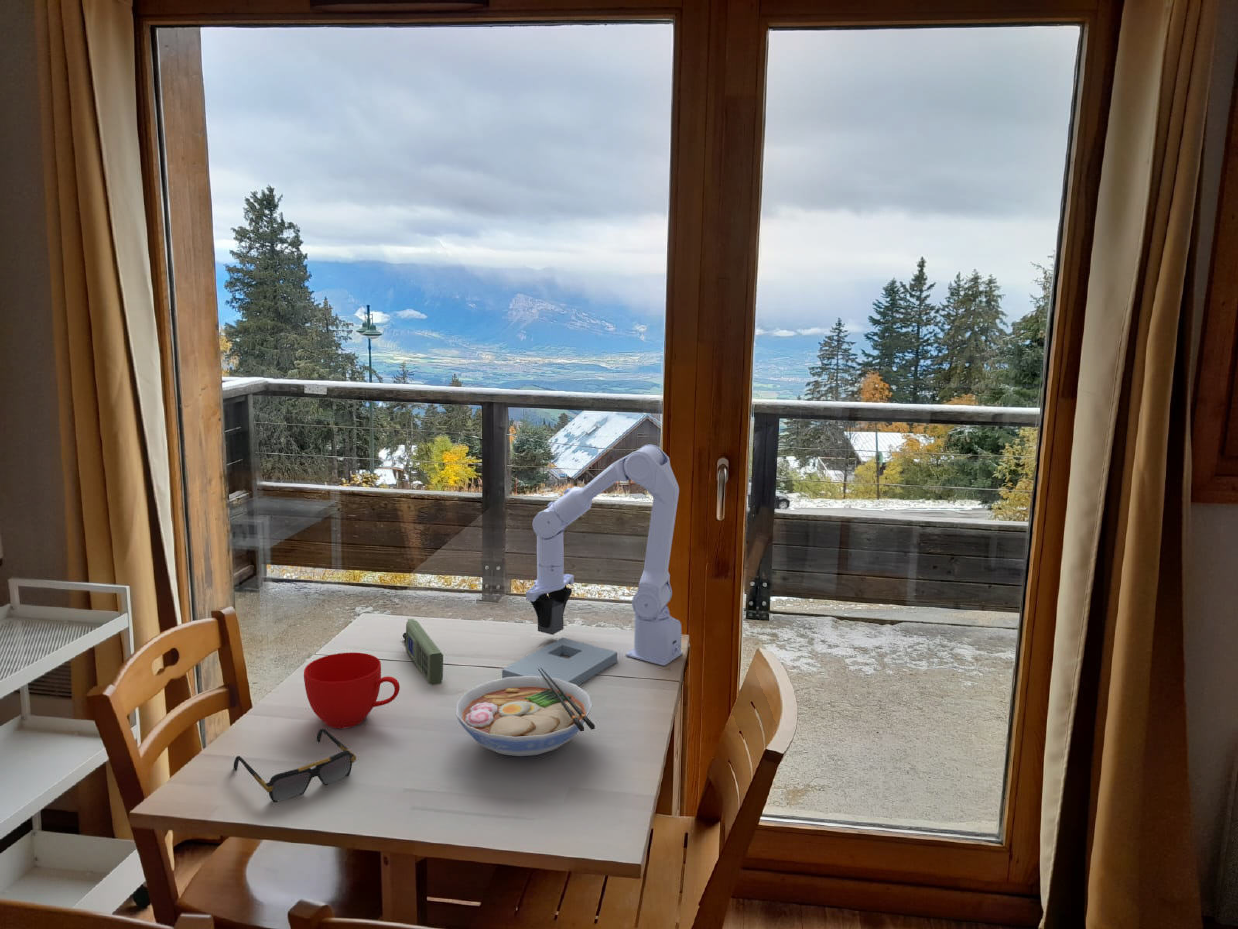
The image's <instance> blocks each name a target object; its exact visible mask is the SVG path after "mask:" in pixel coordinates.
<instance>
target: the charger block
mask: <svg viewBox="0 0 1238 929" xmlns="http://www.w3.org/2000/svg"><path fill="white" fill-rule="evenodd" d="M563 630H564V613H563V603H561V602H557V601H554V602H553V605H552V609H551V615H550V625H549V627H548V628H544V627H540V625H539V621H538V620H537V632H541V633H543V634H548V635H553V636H554V635H555V634H557V633H560V632H561V631H563Z"/></svg>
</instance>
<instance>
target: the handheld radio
mask: <svg viewBox="0 0 1238 929" xmlns="http://www.w3.org/2000/svg"><path fill="white" fill-rule="evenodd" d="M402 638H403V640H404V641H405V650H406V652H407V653H408V655H409V656H410V658H411V659H412V661H413V662H414V664H415V665H416V667H417V668H418V669H419V671H420V673H421V674H422V676H423V677H424V678H425V680H426V682H427V684H429V686H430V685H431V686H433V685H434V686H435V685H438V684H439V685H440V684H442V681H443V679H444V655H443V654H444V653H442V651H441V650H440V648H438V646H437V645H436V644H435V642H434V641H433V639H432V638H431V637H430V635H429V634H428V633H427V632H426V630H425V629H424V628H423V627H422V625H421V624H420V623H419V621H418V620H415V619H414V618H407V621H406V625H405V632H404V633H402Z"/></svg>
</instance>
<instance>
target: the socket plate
mask: <svg viewBox="0 0 1238 929" xmlns="http://www.w3.org/2000/svg"><path fill="white" fill-rule="evenodd" d="M561 655H564V656H568V658H565V657H563V656H561ZM617 662H618V651H614V650H610V649H608V648H607V649H606V648H603V647H599V646H596V645H593V644H588V643H584V642H580V641H576V640H573V639H569V638H565V637H561V638H559V639H558V640H555V641H553V642H552V643H550V644H548V645H545V646H543V647H542V648H540V649H538V650H537V651H535V652H532V653H531V654H528V655H527V656H525V657H522V658H521V659H519V660H517V661H515V662H514V663H512V664H510V665H508V666H506V667H504V668H502V670H501V677H502V678H506V677H519V676H540V677H543V676H542V675H541V673H540V672H539V670H540V671H541V672H542V674H543V675H544V676H545V677H547V676H546V674H545V673H544V672H543V671H542V670H541V668H542V669H543V670H544V671H545V672H546V673H547V675H548V676H549V677H550V678H557V679H560V680H563V681H566V682H569V683H572V684H575V685H577V686H578V687H579V685H582V683H584V682H585V681H588V680H589V679H591V678H593V677H595V676H596V675H598V674H599V673H601V672H602V671H604V670H606V669H607V668H609V667H610V666H612V665H614V664H615V663H617ZM611 664H612V665H611ZM606 667H607V668H606ZM538 668H539V670H538ZM605 668H606V669H605ZM603 669H604V670H603ZM600 671H601V672H600ZM598 672H599V673H598ZM595 674H596V675H595ZM592 676H593V677H592ZM502 678H501V679H502Z"/></svg>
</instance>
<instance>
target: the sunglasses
mask: <svg viewBox="0 0 1238 929" xmlns="http://www.w3.org/2000/svg"><path fill="white" fill-rule="evenodd" d="M323 734H324V735H326V737H328V738H329V740H330V741H331V742H333V744H335V746H337V747H338V748H339V749H340V750H341V751H340V752H338V753H336V754H334V755H331V756H330V757H326V758H324V759H320V760H317V761H314V762H312V763H309V764H307V765H303V766H300V767H298V768H296V769H291V770H288V771H287V770H286V771H284V772H280V773H277V774H274V775H273V776H272V777H271V778H270V780H269V782H265V781H264V779H263V778H262V777H261V776H260V774H258V773H257V772H256V771H255V770H254V769H253V768H252V766H250V764H249V763H248V762H247V761H245V759H243V757H241V755H237V756H236V757H235V758H234V759H235V760H234V761H233V770H234V771H235V772H236V770H237V771H238V769H239V768H238V767H239V762H241V763H242V765H243V766H244V768H245V769H246V770H247V771H248V772H249V774H250V775H251V776H252V777H253V778H254V780H255V781H257V783H258V784H259V786H261V787H262V788H263V790H265V791H266V792H267V793H268V794H269V798H270V799H271V801H272V802H273V803H278V802H279V801H283V800H287V799H291V798H294V797H297V796H303V795H304V794H305V792H306V791H307V788H308V786H309V785H310V783H311V781H312V780H313V778H315V777H317V778H318V779H319V780H320V782H321V783H322V785H323V786H328V785H330V784H332V783H333V782H337V781H339V780H340V779H343V778H344V777H348V776H350V774H351V772H352V768H353V767H352V765H353V763H354V762H355V761H356V760H357V755H356V754H354V753H353V751H351V750H350V749H348V747H346V746H345V745H344V744H343V743H342V742H341V741H339V740H338V739H337V738H336V737H335V736H334V735H332V734H331V733H330V732H328V731H327V730H326V729H325V728H323V727H322V728H320V729H319V731H318V732H317V734H316V737H315V738H316V742H317V743H321V740H322V735H323ZM290 797H291V798H290ZM277 801H278V802H277Z"/></svg>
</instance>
